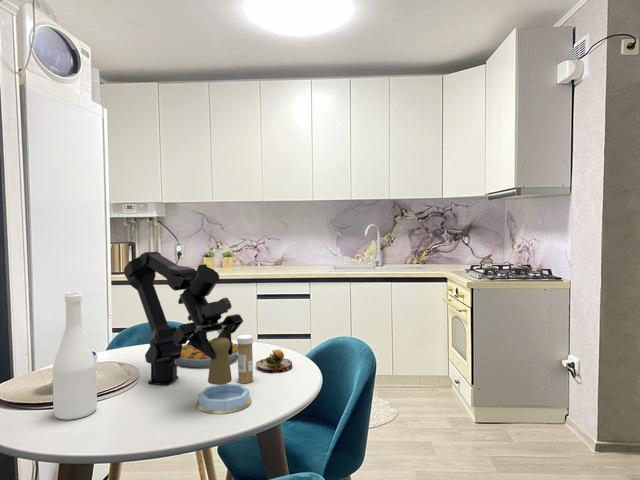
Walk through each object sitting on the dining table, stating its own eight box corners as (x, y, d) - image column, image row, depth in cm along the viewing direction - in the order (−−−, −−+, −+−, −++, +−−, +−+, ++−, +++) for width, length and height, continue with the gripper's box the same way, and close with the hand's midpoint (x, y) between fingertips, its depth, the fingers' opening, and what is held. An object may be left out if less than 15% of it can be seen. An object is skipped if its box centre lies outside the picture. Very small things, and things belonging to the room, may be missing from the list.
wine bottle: (67, 424, 109) (64, 296, 108) (45, 415, 114) (42, 293, 113) (105, 410, 117) (102, 291, 116) (83, 402, 122) (80, 288, 121)
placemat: (187, 412, 116) (187, 410, 116) (209, 391, 130) (209, 390, 130) (241, 415, 114) (241, 414, 114) (258, 394, 127) (258, 393, 127)
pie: (243, 350, 172) (243, 337, 171) (234, 369, 150) (234, 354, 150) (183, 351, 171) (183, 337, 171) (165, 370, 149) (165, 354, 149)
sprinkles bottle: (255, 381, 138) (255, 336, 137) (241, 384, 135) (241, 338, 135) (249, 377, 142) (248, 333, 141) (235, 380, 139) (234, 335, 138)
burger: (259, 362, 158) (259, 340, 157) (294, 362, 157) (293, 340, 157) (252, 374, 146) (252, 350, 145) (290, 374, 145) (290, 350, 145)
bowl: (192, 409, 117) (192, 399, 117) (211, 391, 128) (211, 382, 128) (238, 412, 115) (238, 402, 115) (253, 394, 127) (253, 385, 126)
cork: (218, 386, 115) (218, 342, 115) (202, 381, 119) (202, 338, 119) (236, 380, 120) (237, 337, 120) (221, 374, 124) (221, 334, 123)
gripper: (178, 292, 114) (205, 346, 107) (239, 284, 128) (265, 331, 121) (162, 319, 120) (186, 371, 113) (221, 309, 134) (246, 355, 127)
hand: (223, 356), depth 119 cm, fingers closed on cork, 5 cm apart
